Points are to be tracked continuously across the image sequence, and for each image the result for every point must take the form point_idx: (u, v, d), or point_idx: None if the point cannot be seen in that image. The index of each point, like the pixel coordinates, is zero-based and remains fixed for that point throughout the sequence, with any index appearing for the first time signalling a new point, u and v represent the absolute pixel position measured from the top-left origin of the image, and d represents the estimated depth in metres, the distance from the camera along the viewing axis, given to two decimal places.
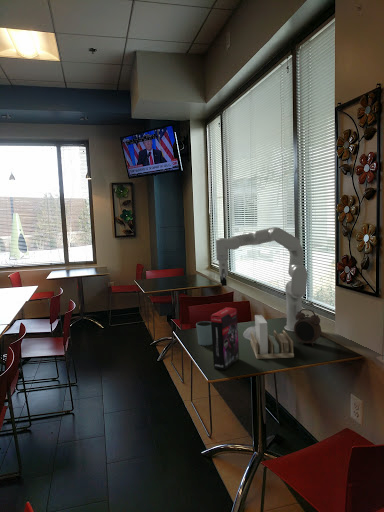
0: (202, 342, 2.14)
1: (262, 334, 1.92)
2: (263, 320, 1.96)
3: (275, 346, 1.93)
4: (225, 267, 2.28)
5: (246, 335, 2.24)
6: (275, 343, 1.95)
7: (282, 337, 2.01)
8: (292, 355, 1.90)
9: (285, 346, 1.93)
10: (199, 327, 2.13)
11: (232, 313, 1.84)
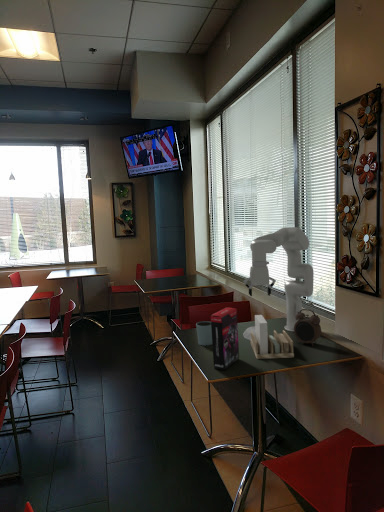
0: (202, 342, 2.14)
1: (262, 334, 1.92)
2: (263, 320, 1.96)
3: (276, 346, 1.93)
4: None
5: (246, 335, 2.24)
6: (275, 343, 1.95)
7: (282, 337, 2.01)
8: (292, 355, 1.90)
9: (285, 346, 1.93)
10: (199, 327, 2.13)
11: (232, 313, 1.84)
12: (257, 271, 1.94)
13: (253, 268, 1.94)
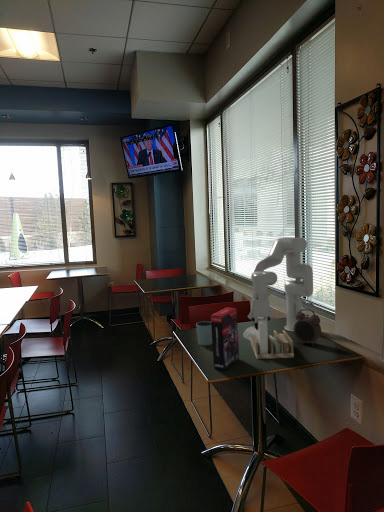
0: (202, 342, 2.14)
1: (262, 334, 1.92)
2: (263, 320, 1.96)
3: (276, 346, 1.93)
4: None
5: (246, 335, 2.25)
6: (276, 343, 1.95)
7: (282, 337, 2.01)
8: (292, 355, 1.90)
9: (285, 346, 1.93)
10: (199, 327, 2.13)
11: (232, 313, 1.84)
12: (258, 304, 1.96)
13: (254, 301, 1.96)
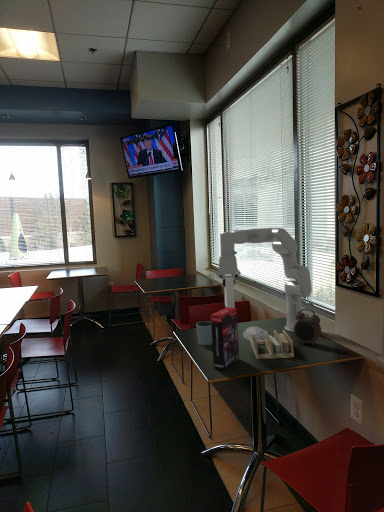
0: (202, 342, 2.14)
1: (229, 289, 1.98)
2: (230, 276, 2.02)
3: (277, 346, 1.93)
4: None
5: (245, 335, 2.25)
6: (276, 343, 1.95)
7: (282, 337, 2.01)
8: (292, 355, 1.90)
9: (285, 346, 1.93)
10: (199, 327, 2.13)
11: (232, 313, 1.84)
12: (225, 261, 2.02)
13: (221, 258, 2.02)
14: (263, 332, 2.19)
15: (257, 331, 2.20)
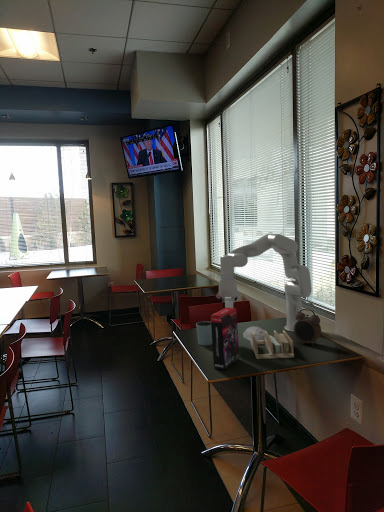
0: (202, 342, 2.14)
1: None
2: (230, 300, 2.03)
3: (276, 346, 1.93)
4: None
5: (245, 335, 2.25)
6: (276, 343, 1.95)
7: (282, 337, 2.01)
8: (292, 355, 1.90)
9: (285, 346, 1.93)
10: (199, 327, 2.13)
11: (232, 313, 1.84)
12: (225, 284, 2.03)
13: (221, 281, 2.04)
14: (263, 332, 2.19)
15: (257, 331, 2.20)
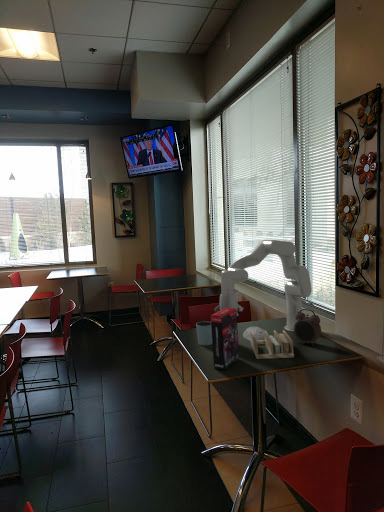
0: (202, 342, 2.14)
1: None
2: None
3: (276, 346, 1.93)
4: None
5: (245, 335, 2.25)
6: (276, 343, 1.95)
7: (282, 337, 2.01)
8: (292, 355, 1.90)
9: (285, 346, 1.93)
10: (199, 327, 2.13)
11: (232, 313, 1.84)
12: (226, 299, 2.04)
13: (222, 296, 2.04)
14: (263, 332, 2.19)
15: (257, 331, 2.20)
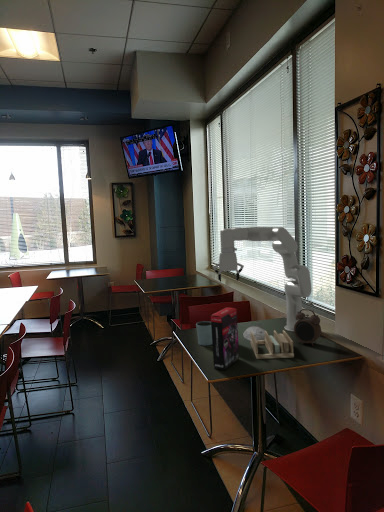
0: (202, 342, 2.14)
1: None
2: None
3: (276, 346, 1.93)
4: None
5: (245, 335, 2.25)
6: (275, 343, 1.95)
7: (282, 337, 2.01)
8: (292, 355, 1.90)
9: (285, 346, 1.93)
10: (199, 327, 2.13)
11: (232, 313, 1.84)
12: (225, 257, 2.03)
13: (222, 254, 2.03)
14: (263, 332, 2.19)
15: (257, 331, 2.20)
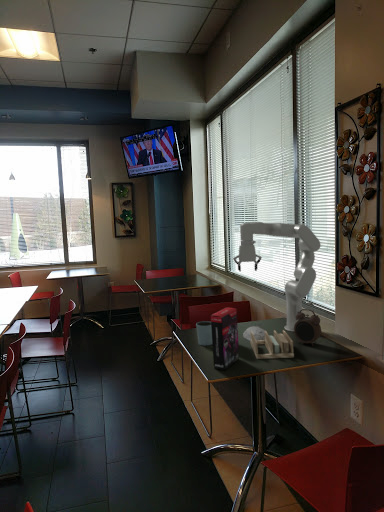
0: (202, 342, 2.14)
1: None
2: None
3: (275, 346, 1.93)
4: None
5: (245, 335, 2.25)
6: (275, 343, 1.95)
7: (282, 337, 2.01)
8: (292, 355, 1.90)
9: (285, 346, 1.93)
10: (199, 327, 2.13)
11: (232, 313, 1.84)
12: (245, 249, 2.21)
13: (241, 246, 2.21)
14: (262, 332, 2.19)
15: (256, 331, 2.20)
